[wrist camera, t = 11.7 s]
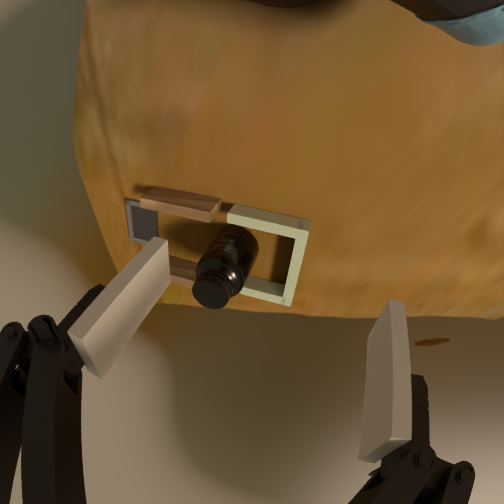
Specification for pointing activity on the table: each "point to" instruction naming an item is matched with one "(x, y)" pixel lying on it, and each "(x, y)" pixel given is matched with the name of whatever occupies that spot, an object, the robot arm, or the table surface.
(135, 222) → the mat
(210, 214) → the channel
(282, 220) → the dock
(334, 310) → the table surface
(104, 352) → the robot arm
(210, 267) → the supplement bottle
